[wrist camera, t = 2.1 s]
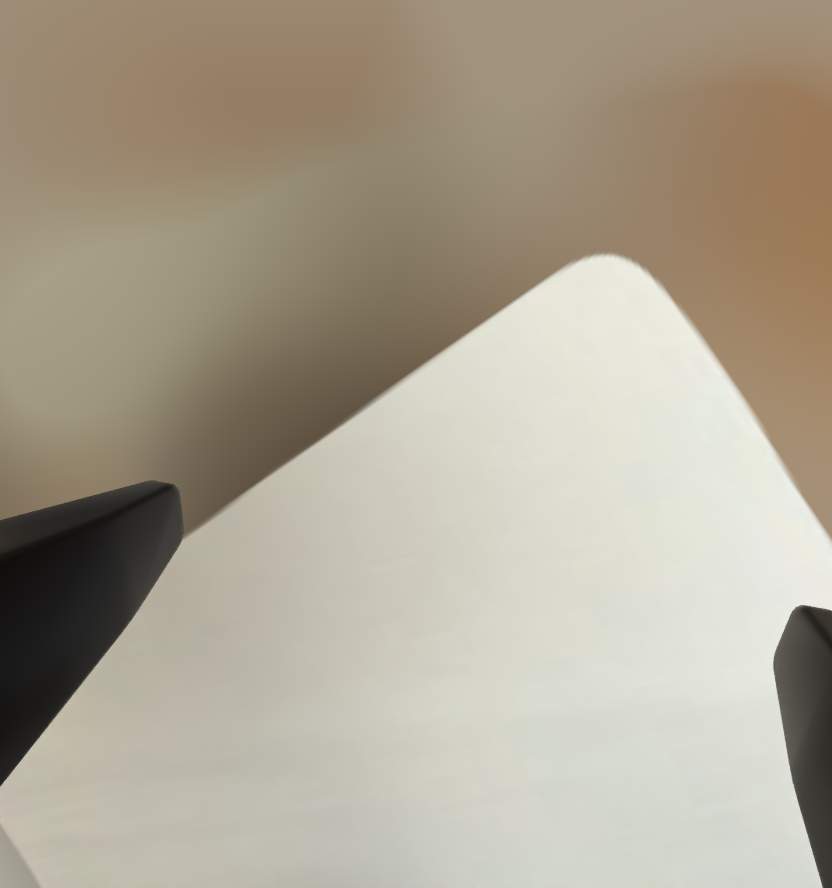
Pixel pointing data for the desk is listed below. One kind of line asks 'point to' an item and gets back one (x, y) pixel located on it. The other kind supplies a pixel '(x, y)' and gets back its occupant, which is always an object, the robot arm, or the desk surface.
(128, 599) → the robot arm
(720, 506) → the desk surface
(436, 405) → the desk surface
